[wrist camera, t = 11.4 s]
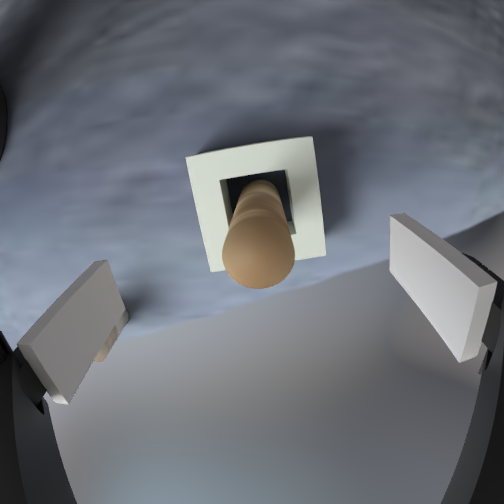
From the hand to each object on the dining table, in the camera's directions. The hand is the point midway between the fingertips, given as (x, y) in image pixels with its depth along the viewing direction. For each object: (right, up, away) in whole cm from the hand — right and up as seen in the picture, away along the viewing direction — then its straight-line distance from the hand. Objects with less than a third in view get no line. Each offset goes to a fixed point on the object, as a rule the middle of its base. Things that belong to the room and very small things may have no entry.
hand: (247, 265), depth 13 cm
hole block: (+1, +6, +15) cm, 16 cm away
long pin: (+1, +6, +15) cm, 16 cm away
